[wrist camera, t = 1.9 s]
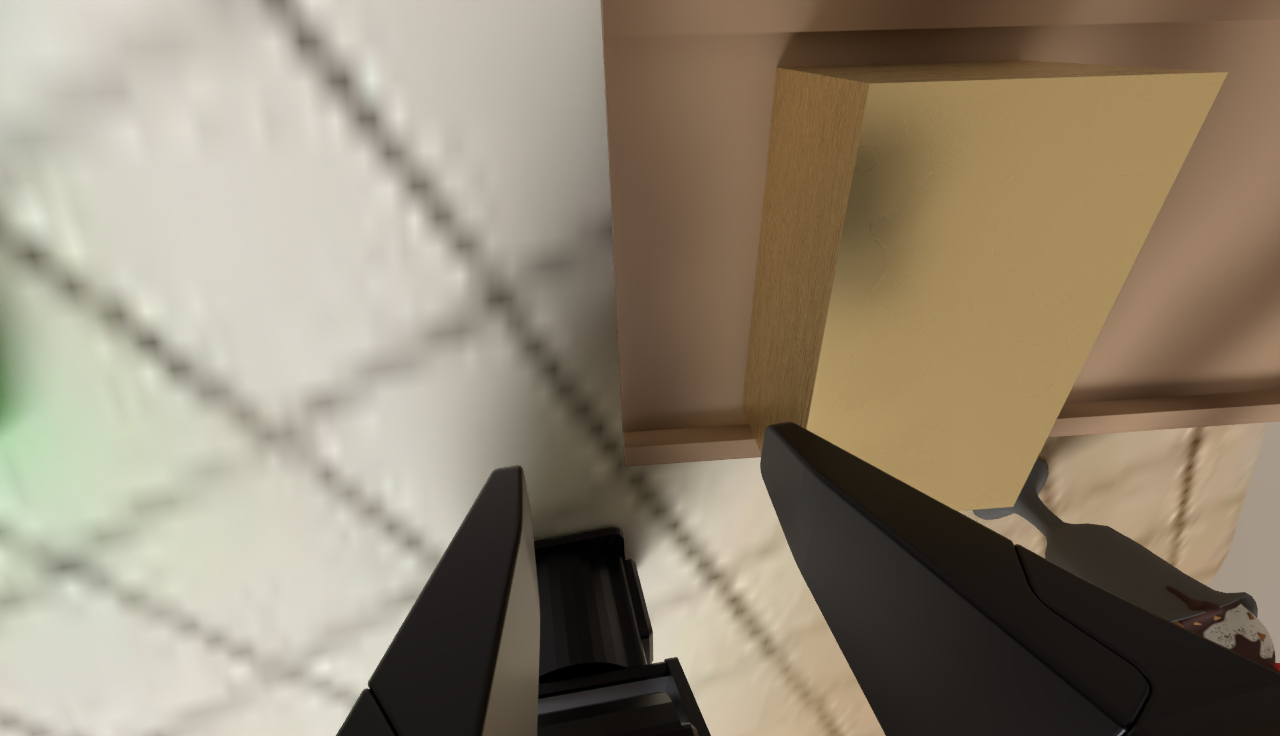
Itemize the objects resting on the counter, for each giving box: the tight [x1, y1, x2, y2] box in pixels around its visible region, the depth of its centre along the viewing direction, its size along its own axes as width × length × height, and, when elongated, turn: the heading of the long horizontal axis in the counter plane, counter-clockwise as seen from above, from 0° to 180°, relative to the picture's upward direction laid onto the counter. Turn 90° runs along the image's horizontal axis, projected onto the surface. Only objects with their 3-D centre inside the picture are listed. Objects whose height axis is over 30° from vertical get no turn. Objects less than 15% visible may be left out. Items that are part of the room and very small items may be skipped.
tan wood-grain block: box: [743, 60, 1228, 511], centre depth 13 cm, size 6×10×5 cm, turn 1°
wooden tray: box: [601, 0, 1280, 466], centre depth 16 cm, size 26×15×4 cm, turn 91°
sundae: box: [973, 458, 1280, 673], centre depth 26 cm, size 7×7×15 cm
